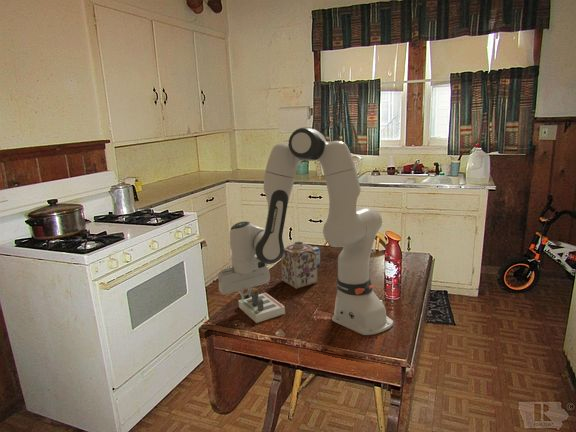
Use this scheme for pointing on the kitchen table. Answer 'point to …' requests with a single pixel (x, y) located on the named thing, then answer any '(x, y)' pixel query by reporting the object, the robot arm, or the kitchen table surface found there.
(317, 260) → the medicine box
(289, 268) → the decorative jar
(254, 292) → the breaker handle
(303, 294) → the kitchen table surface
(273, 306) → the breaker box
